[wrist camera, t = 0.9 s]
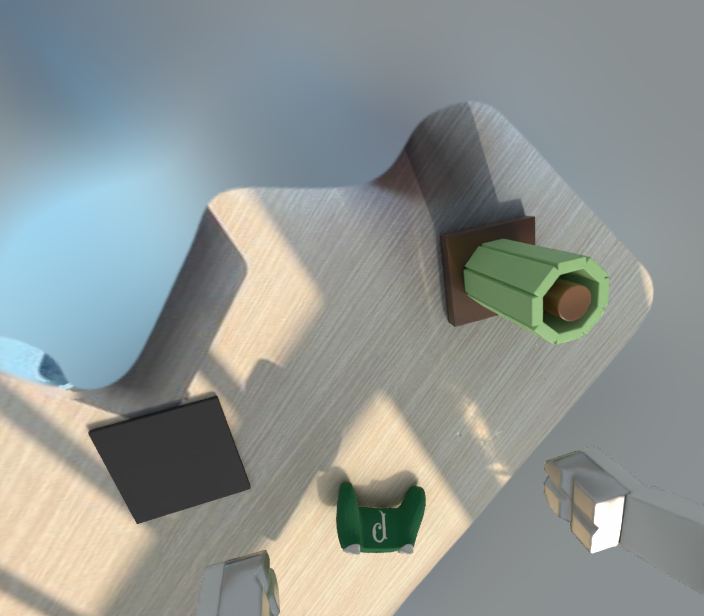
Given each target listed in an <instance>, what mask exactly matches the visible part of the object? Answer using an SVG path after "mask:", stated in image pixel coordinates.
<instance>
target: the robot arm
mask: <svg viewBox="0 0 704 616" xmlns="http://www.w3.org/2000/svg"><path fill="white" fill-rule="evenodd" d="M544 471H545V472H546V473H547V474H548V477H547V478H546V480H545V482H544V493H545V496H546V499H547V501H548V503H549V504H550V506H551V508H552V509H553V511H554V512H555V513H556V514H557V515H558V517H560V518H562V519H564V520H566V521H568V522H570V526H571V531H572V533H573V534H574V535H575V536H576V537H577V539H578V540H579V541H580V542H581V543H582V544H583V545H584V546H585V547H586V549H587V550H588V551H589V552H590V553H591V554H592V553H595V552H598V551H601V550H604V549H607V548H610V547H614V546H617V545H620V547H621V548H623V549H625V550H626V551H628V552H630V553H632V554H633V555H635V556H637V557H638V558H640V559H642V560H644V561H645V562H647V563H649V564H650V565H652V566H654V567H655V568H657V569H659V570H661V571H662V572H664V573H666V574H667V575H669V576H671V577H673V578H674V579H676V580H678V581H679V582H681V583H683V584H685V585H687V586H688V587H690V588H691V589H693V590H695V591H697V592H698V593H700V594H702V595H704V504H702V503H699V502H696V501H693V500H691V499H688V498H685V497H682V496H680V495H677V494H674V493H671V492H668V491H666V490H663V489H660V488H658V487H655V486H651V487H647V486H646V485H645V484H644V483H642V482H641V481H640V480H639V479H637V478H636V477H635V476H634V475H632V474H631V473H630V472H628V471H627V470H626V469H625V468H624V467H622V466H621V465H620V464H619V463H617V462H616V461H615V460H614V459H612V458H611V457H610V456H608V455H607V454H606V453H605V452H604V451H602V450H601V449H600V448H598V447H595V446H591V447H588V448H585V449H582V450H578V451H574V452H571V453H568V454H565V455H562V456H559V457H556V458H553V459H550V460H547V461H546V463H545V465H544ZM279 613H280V601H279V591H278V584H277V579H276V575H275V572H274V570H273V569H271V568H270V558H269V556H268V553H267V551H266V550H263V551H259V552H256V553H252V554H249V555H245V556H242V557H238V558H235V559H231V560H228V561H224V562H221V563H218V564H215V565H211V566H208V567H206V568H205V570H204V573H203V575H202V580H201V586H200V591H199V597H198V602H197V608H196V613H195V616H278V615H279Z"/></svg>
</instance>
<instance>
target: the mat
mask: <svg viewBox="0 0 704 616" xmlns="http://www.w3.org/2000/svg"><path fill="white" fill-rule="evenodd" d="M88 434H89V436H90V438H91V440H92V441H93V443H94V445H95V447H96V449H97V451H98V453H99V454H100V456H101V458H102V460H103V462H104V464H105V465H106V467H107V469H108V471H109V473H110V475H111V477H112V478H113V480H114V482H115V484H116V486H117V488H118V490H119V491H120V493H121V495H122V497H123V499H124V501H125V503H126V504H127V506H128V508H129V510H130V512H131V514H132V516H133V517H134V519H135V521H136V523H137V524H139V523H142V522H145V521H149V520H152V519H155V518H158V517H161V516H165V515H168V514H171V513H174V512H178V511H181V510H184V509H187V508H190V507H194V506H197V505H200V504H203V503H206V502H210V501H213V500H216V499H219V498H222V497H226V496H229V495H232V494H235V493H239V492H242V491H245V490H248V489H250V483H249V480H248V478H247V475H246V472H245V470H244V467H243V464H242V461H241V459H240V456H239V453H238V451H237V448H236V445H235V442H234V440H233V437H232V434H231V432H230V429H229V426H228V424H227V421H226V418H225V415H224V413H223V410H222V407H221V405H220V402H219V399H218V396H215V397H211V398H208V399H204V400H200V401H197V402H193V403H189V404H186V405H182V406H178V407H174V408H171V409H167V410H163V411H160V412H156V413H152V414H149V415H145V416H141V417H138V418H134V419H130V420H127V421H123V422H119V423H116V424H112V425H108V426H105V427H101V428H97V429H94V430H90V432H89V433H88Z"/></svg>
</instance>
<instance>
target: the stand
mask: <svg viewBox="0 0 704 616" xmlns="http://www.w3.org/2000/svg"><path fill="white" fill-rule="evenodd" d="M440 237H441V248H442V258H443V268H444V278H445V288H446V299H447V309H448V319H449V323H450V324H452V325H453V326H454V327H456V326H460V325H464V324H467V323H471V322H475V321H479V320H482V319H486V318H490V317H493V316H497V315H498V314H496V313H495V312H493V311H491V310H489V309H487V308H485V307H484V306H482V305H480V304H479V303H478V302H476V301H475V300H473V299H472V298H470V297H469V296H468V295H467V294H468V293H467V292H465V282H464V269H468V268H466V267H465V265H466V263H467V262H468V260H469V259H470V258H471V256H472V255H473V253H474V252H475V251H476V249H477V248H478V246H481V247H482V244H483V243H487V242H491V241H495V240H499V239H507V240H512V241H517V242H522V243H526V244H531V245H535V217H534V216H522V217H517V218H513V219H509V220H504V221H500V222H496V223H491V224H487V225H483V226H478V227H474V228H470V229H465V230H461V231H457V232H452V233H448V234H444V235H440ZM590 303H591V294H590V291H589V290H588V288H587V287H585V286H583V285H580V284H577V283H574V282H570V281H567V280H564V279H561V278H557V279H556V281H555V282H554V283H553V285H552V286H551V287H550V289H549V290H548V291H547V293H546V294H545V295H544V296H543V311H545V312H547V313H549V314H552V315H554V316H556V317H558V318H561V319H563V320H565V321H574V320H577V319H579V318H580V317H582V316H583V315H584V314H585V313H586V311H587V310H588V308H589V306H590Z"/></svg>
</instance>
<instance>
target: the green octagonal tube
mask: <svg viewBox="0 0 704 616" xmlns="http://www.w3.org/2000/svg"><path fill="white" fill-rule="evenodd" d="M465 267H466V268H468V269H464V282H465V292H467V293H468V294H467V295H468V296H469V297H470V298H472V299H473V300H475V301H476V302H478V303H479V304H480V305H482V306H484V307H485V308H487V309H489V310H491V311H493V312H495V313H496V314H498V315H500V316H502V317H504V318H505V319H507V320H509V321H511V322H513V323H515V324H516V325H518V326H520V327H522V328H524V329H526V330H527V331H529V332H531V333H533V334H535V335H537V336H538V337H540V338H542V339H544V340H546V341H548V342H549V343H551V344H553V343H555V344H561V343H564V342H567V341H571V340H574V339H578V338H581V337H583V333H584V334H587V333H588V332H589V331H590V329H591V328H592V327H593V326H594V324H595V323H596V322H597V321H598V319H599V318H600V317H601V316H602V314H603V313H604V312H605V309H604V308H603V307H605V306H608V295H609V280H610V278H609V277H606V276H607V274H608V273H607V272H606V271H605V270H604V269H603V268H602V267H601V266H600V265H599V264H597V263H596V262H595V261H594V260H593V259H592V258H591V257H588V256H583V255H578V254H574V253H569V252H564V251H559V250H555V249H550V248H545V247H541V246H536V245H531V244H526V243H522V242H517V241H512V240H507V239H499V240H495V241H491V242H487V243H483V244H482V247H481V246H478V248H477V249H476V251H475V252H474V253H473V255H472V256H471V258H470V259H469V260H468V262H467V263H466V265H465ZM557 278H561V279H564V280H567V281H570V282H574V283H577V284H580V285H583V286H585V287H587V288H588V290H589V291H590V294H591V303H590V306H589V308H588V310H587V311H586V313H585V314H584V315H583V316H582V317H580V318H579V319H577V320H574V321H565V320H563V319H561V318H558V317H556V316H554V315H552V314H549V313H547V312H545V311H543V296H544V295H545V294H546V293H547V291H548V290H549V289H550V287H551V286H552V285H553V283H554V282H555V281H556V279H557Z"/></svg>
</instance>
